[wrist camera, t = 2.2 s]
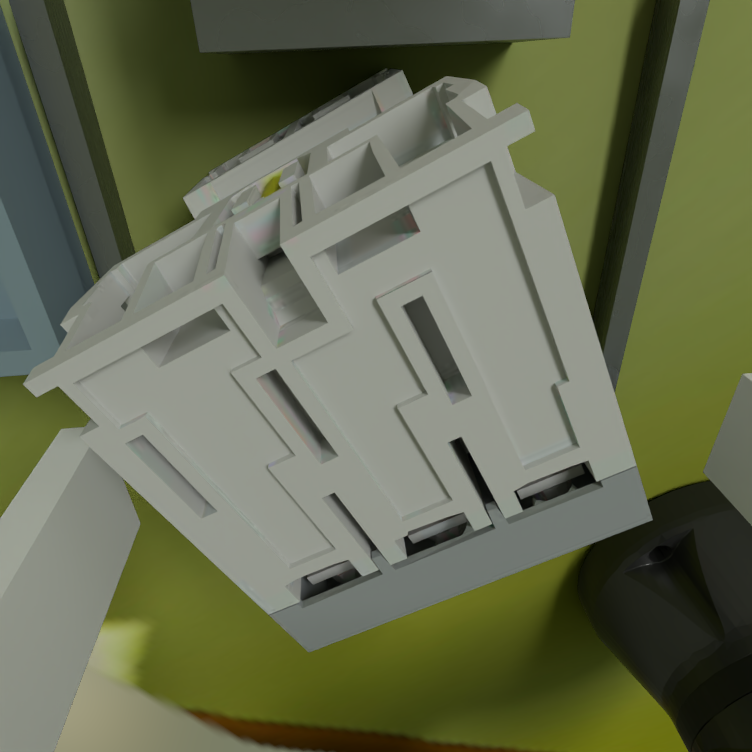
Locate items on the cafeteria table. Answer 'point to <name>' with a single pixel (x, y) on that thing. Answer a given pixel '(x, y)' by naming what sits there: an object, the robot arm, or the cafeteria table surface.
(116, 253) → the grey blocks
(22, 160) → the tray
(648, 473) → the cafeteria table surface
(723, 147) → the cafeteria table surface
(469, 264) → the circuit breaker
